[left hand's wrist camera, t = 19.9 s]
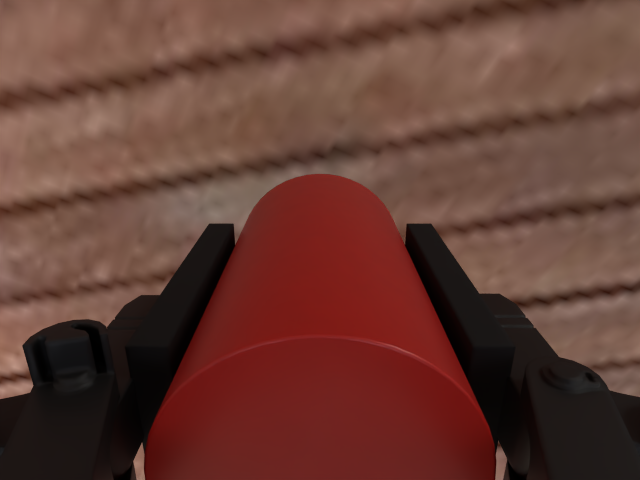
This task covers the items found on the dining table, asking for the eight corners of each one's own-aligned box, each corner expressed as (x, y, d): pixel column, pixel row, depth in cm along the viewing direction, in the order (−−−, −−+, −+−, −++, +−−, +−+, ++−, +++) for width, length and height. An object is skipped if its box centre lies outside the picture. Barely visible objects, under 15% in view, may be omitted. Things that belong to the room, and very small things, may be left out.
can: (428, 260, 16) (562, 504, 7) (309, 343, 17) (298, 637, 8) (332, 139, 14) (351, 258, 6) (209, 239, 15) (67, 466, 7)
